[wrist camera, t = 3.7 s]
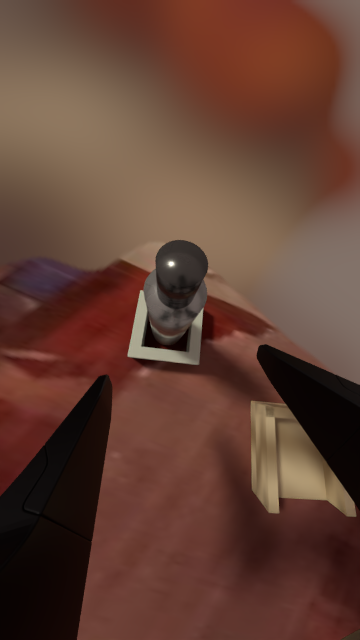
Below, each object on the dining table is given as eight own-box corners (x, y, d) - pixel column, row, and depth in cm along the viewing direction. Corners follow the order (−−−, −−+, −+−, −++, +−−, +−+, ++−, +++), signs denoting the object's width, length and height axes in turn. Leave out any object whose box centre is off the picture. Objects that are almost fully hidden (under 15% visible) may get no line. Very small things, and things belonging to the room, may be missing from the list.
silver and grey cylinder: (180, 347, 21) (223, 309, 7) (150, 343, 21) (128, 295, 7) (183, 318, 23) (226, 234, 8) (154, 314, 22) (145, 219, 8)
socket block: (194, 364, 21) (199, 364, 19) (131, 357, 20) (127, 356, 18) (199, 306, 23) (203, 299, 21) (142, 298, 23) (140, 290, 20)
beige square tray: (326, 493, 19) (356, 516, 16) (251, 489, 18) (269, 512, 15) (316, 407, 21) (340, 413, 18) (250, 400, 21) (265, 406, 18)
